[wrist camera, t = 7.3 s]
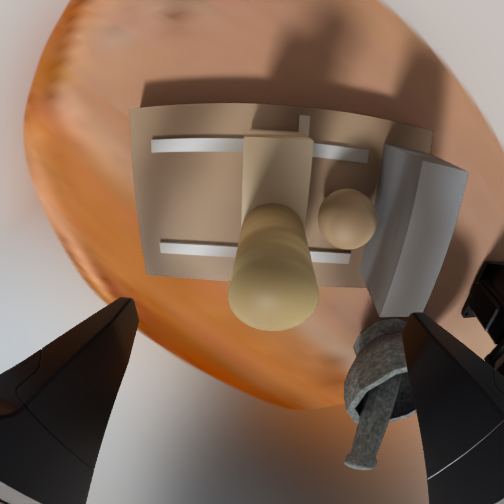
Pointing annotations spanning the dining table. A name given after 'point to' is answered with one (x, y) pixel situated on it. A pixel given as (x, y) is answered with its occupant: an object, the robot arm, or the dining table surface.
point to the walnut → (347, 219)
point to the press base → (321, 185)
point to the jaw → (274, 233)
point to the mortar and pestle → (377, 389)
